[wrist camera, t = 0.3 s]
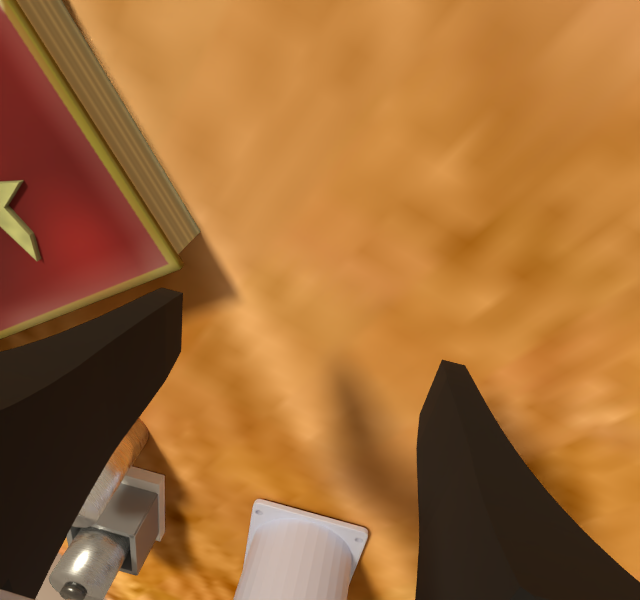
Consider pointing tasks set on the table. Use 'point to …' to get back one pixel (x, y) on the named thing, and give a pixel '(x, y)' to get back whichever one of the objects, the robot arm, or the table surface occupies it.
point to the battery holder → (134, 515)
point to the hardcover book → (73, 177)
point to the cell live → (112, 475)
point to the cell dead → (90, 564)
